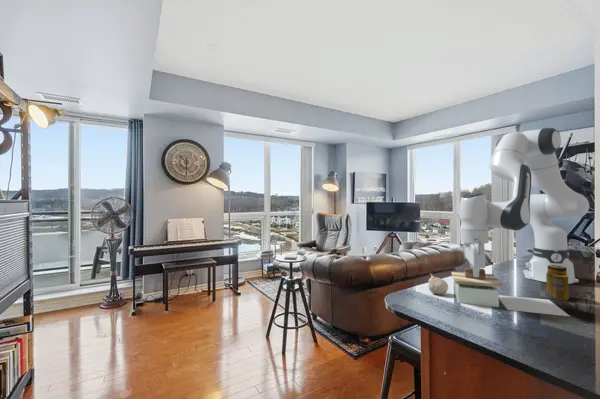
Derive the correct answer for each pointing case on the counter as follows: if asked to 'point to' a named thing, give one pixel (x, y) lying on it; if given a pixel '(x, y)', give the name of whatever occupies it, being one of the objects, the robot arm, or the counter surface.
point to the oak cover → (476, 278)
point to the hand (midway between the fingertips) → (474, 275)
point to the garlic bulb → (437, 285)
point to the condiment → (557, 282)
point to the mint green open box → (477, 295)
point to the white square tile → (531, 305)
